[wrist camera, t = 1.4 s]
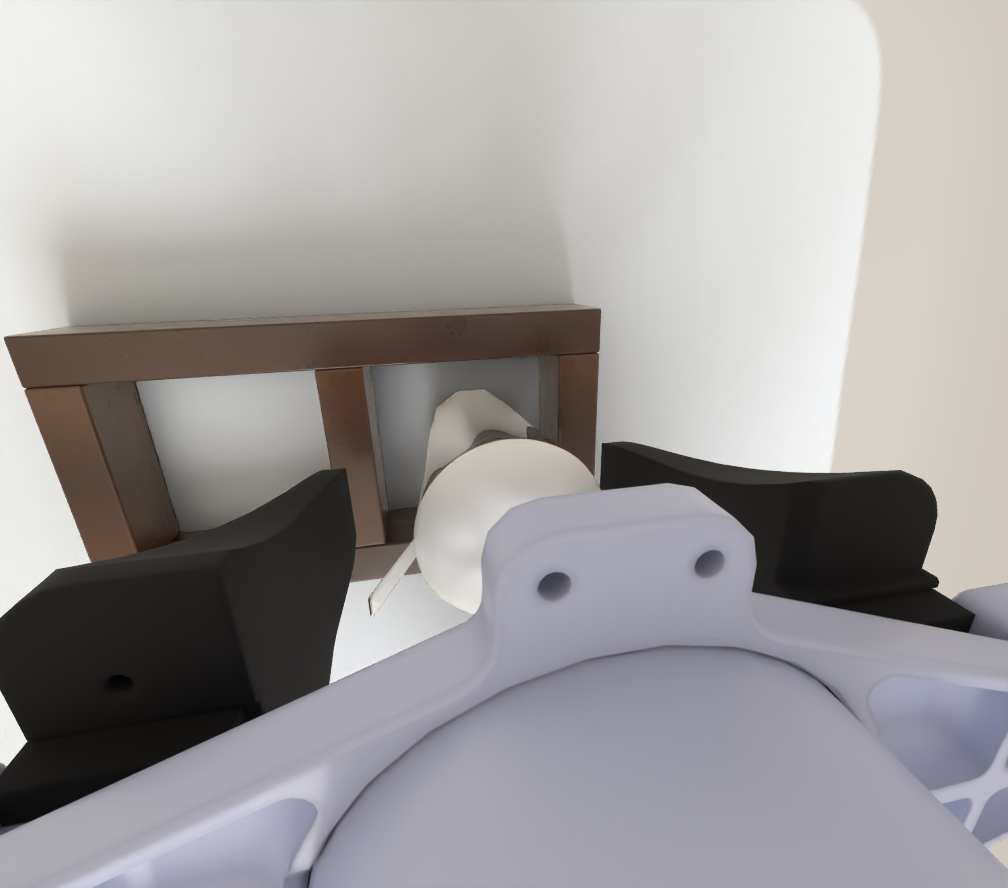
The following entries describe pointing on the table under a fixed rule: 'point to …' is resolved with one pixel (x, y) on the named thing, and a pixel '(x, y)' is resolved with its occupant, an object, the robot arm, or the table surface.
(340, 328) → the rack
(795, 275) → the table surface
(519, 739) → the robot arm
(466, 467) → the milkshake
